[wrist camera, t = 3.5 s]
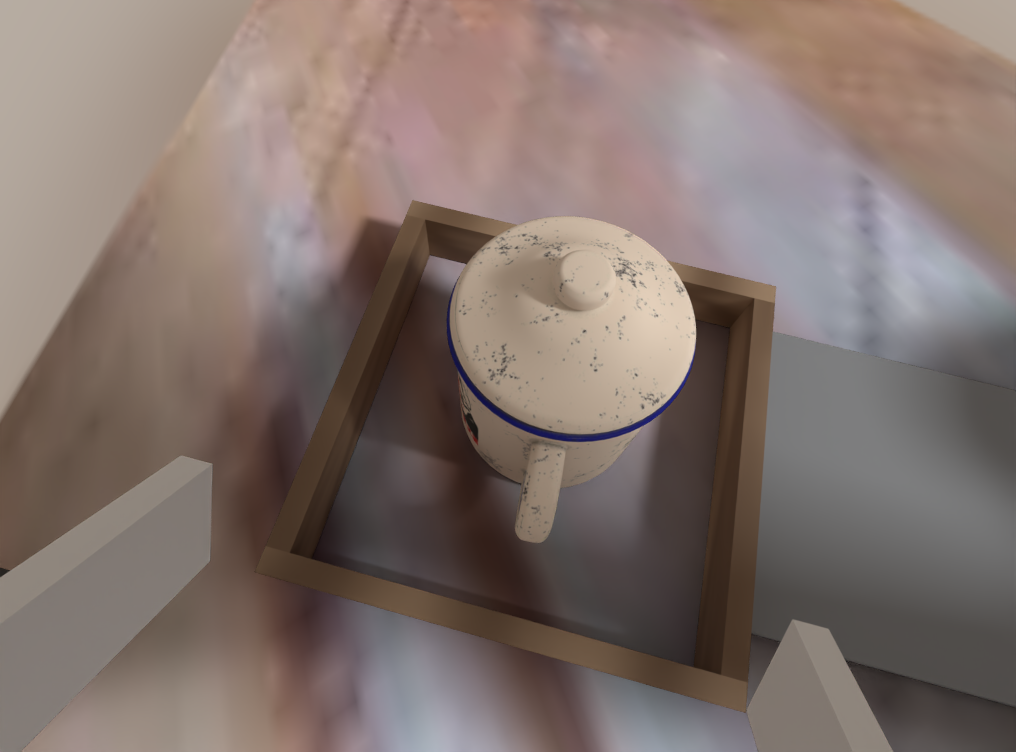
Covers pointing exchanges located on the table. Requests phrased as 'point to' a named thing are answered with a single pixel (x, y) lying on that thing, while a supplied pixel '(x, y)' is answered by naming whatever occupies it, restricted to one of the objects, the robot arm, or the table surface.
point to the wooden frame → (717, 636)
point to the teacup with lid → (565, 353)
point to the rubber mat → (890, 516)
